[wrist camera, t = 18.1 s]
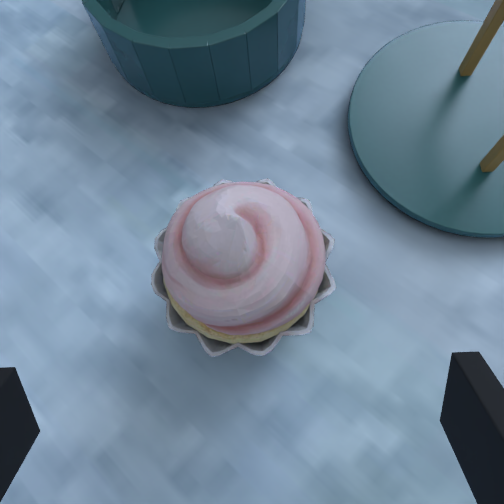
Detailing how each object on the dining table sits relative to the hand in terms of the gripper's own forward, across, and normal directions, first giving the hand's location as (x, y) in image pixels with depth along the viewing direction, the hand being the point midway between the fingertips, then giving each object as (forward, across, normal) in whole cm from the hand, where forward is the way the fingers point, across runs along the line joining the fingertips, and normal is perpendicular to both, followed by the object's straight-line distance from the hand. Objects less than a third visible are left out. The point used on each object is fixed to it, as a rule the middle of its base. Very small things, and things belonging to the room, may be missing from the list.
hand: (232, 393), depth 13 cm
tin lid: (+19, +14, +4) cm, 24 cm away
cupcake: (+13, 0, -4) cm, 13 cm away
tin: (+27, -3, +11) cm, 29 cm away
